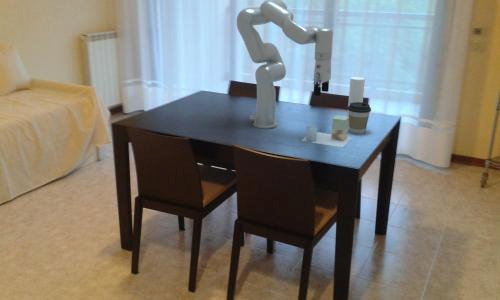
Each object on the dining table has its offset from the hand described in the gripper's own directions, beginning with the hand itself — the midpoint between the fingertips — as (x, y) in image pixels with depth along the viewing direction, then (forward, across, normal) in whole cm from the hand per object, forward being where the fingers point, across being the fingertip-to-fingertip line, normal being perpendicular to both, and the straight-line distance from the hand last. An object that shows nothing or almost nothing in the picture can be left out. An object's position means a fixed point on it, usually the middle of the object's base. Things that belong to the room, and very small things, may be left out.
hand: (321, 93), depth 224 cm
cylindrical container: (+22, +30, -7) cm, 38 cm away
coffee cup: (+23, +18, -13) cm, 32 cm away
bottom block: (+21, +2, -10) cm, 23 cm away
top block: (+16, +2, -10) cm, 19 cm away
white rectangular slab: (+22, -2, -5) cm, 23 cm away
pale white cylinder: (+21, -8, +1) cm, 22 cm away
